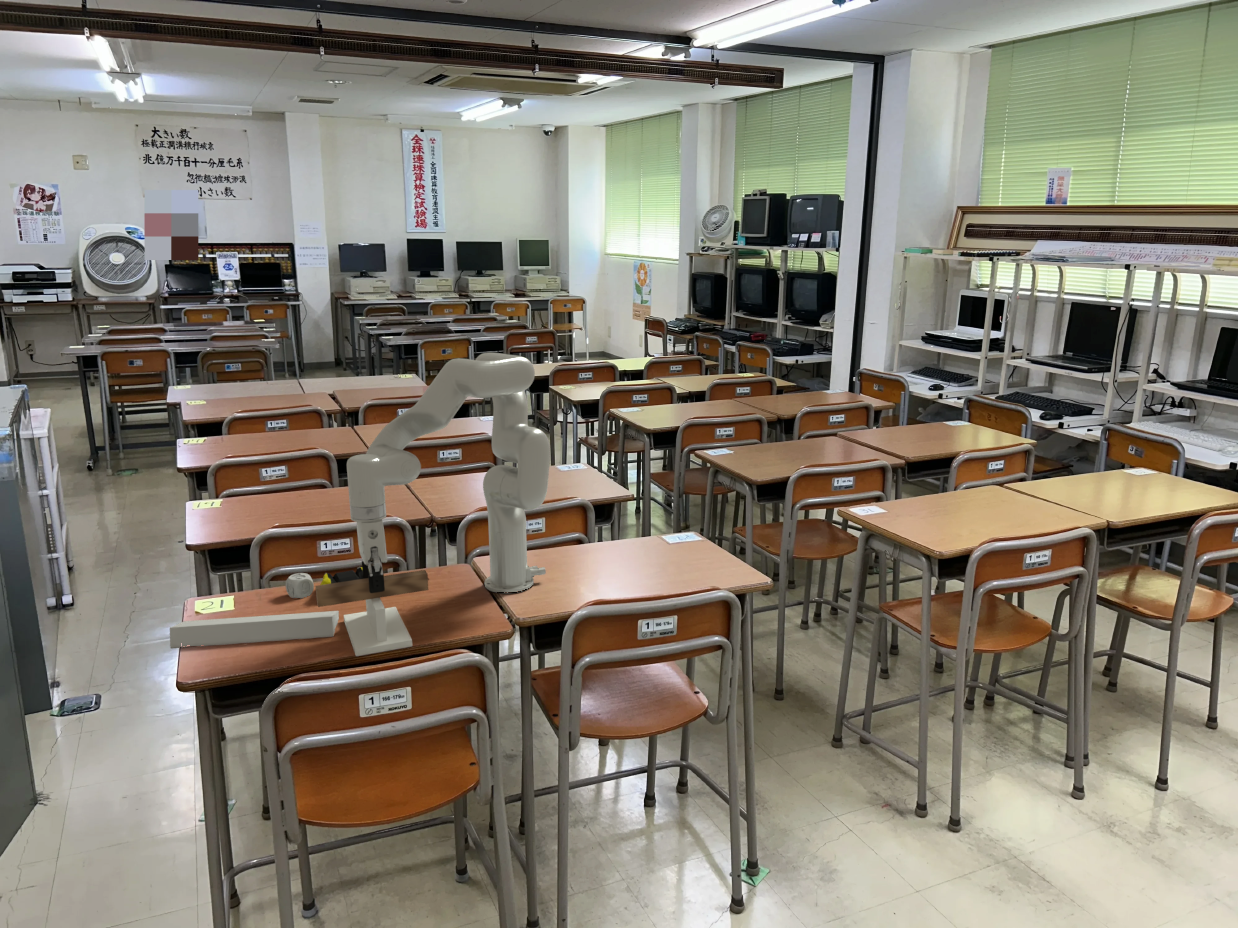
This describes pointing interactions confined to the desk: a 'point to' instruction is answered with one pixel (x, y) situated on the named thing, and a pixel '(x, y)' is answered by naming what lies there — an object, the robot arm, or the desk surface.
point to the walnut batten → (360, 588)
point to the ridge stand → (376, 629)
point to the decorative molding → (254, 629)
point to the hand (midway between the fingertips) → (373, 584)
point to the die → (299, 585)
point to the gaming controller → (343, 576)
